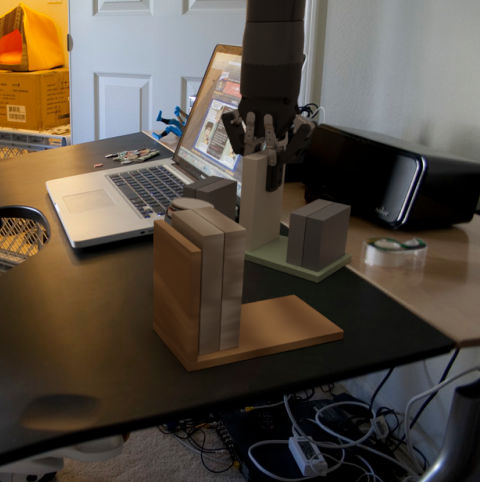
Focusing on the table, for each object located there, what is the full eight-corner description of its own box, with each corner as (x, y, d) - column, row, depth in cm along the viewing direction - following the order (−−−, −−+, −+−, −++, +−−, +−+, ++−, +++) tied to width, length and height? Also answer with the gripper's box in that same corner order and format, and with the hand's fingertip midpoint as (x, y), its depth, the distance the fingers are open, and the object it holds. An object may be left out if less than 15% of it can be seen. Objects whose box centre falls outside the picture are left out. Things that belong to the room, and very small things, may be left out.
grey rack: (351, 261, 85) (359, 205, 82) (317, 283, 80) (324, 223, 77) (211, 221, 101) (213, 173, 98) (174, 237, 96) (175, 186, 93)
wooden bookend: (293, 301, 75) (304, 189, 70) (343, 339, 67) (359, 215, 62) (152, 329, 71) (153, 211, 66) (188, 372, 63) (191, 241, 58)
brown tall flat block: (279, 237, 91) (286, 148, 87) (251, 251, 87) (257, 159, 82) (266, 233, 93) (272, 146, 88) (237, 247, 89) (242, 157, 84)
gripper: (338, 57, 78) (323, 192, 84) (242, 52, 88) (235, 173, 94) (307, 64, 73) (294, 206, 80) (209, 58, 83) (204, 185, 89)
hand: (262, 188), depth 87 cm, fingers closed on brown tall flat block, 2 cm apart
